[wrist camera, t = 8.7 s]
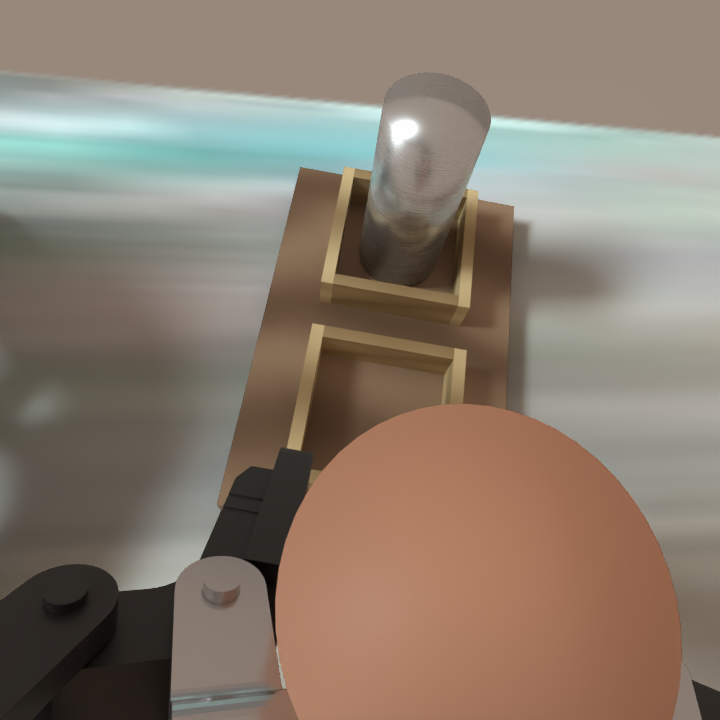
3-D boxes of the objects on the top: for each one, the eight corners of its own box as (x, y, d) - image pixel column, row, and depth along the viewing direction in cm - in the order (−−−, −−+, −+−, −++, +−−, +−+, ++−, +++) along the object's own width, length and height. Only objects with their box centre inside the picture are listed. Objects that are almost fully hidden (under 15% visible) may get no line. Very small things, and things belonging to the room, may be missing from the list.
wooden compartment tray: (490, 554, 27) (515, 546, 24) (220, 510, 27) (210, 496, 24) (505, 221, 36) (525, 183, 33) (300, 184, 35) (300, 141, 32)
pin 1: (342, 251, 32) (360, 105, 23) (395, 209, 33) (432, 57, 24) (400, 302, 31) (443, 171, 22) (452, 256, 32) (512, 116, 23)
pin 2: (250, 607, 15) (184, 598, 6) (368, 490, 16) (460, 336, 7) (370, 746, 14) (515, 995, 5) (482, 607, 16) (752, 597, 6)
